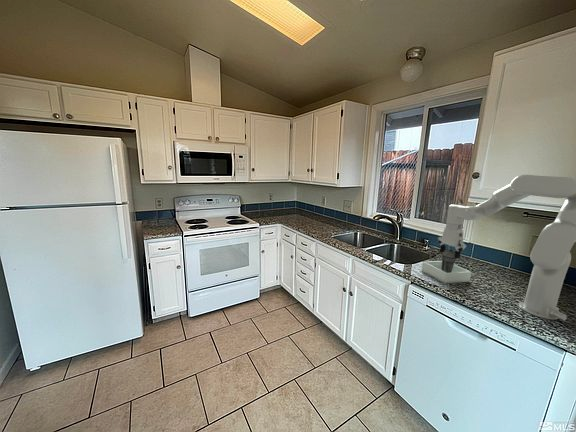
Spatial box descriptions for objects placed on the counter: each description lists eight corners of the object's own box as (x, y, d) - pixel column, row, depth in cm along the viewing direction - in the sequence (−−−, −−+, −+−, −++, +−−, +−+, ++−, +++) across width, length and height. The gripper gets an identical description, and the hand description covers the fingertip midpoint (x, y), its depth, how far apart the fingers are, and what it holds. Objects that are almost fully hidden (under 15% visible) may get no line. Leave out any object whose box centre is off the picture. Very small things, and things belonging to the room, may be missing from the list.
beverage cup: (455, 278, 135) (462, 244, 131) (441, 276, 136) (447, 243, 133) (449, 272, 142) (455, 241, 138) (436, 271, 143) (442, 240, 140)
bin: (469, 281, 133) (471, 271, 132) (445, 283, 129) (446, 273, 128) (443, 269, 149) (445, 260, 148) (421, 270, 146) (423, 261, 144)
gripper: (474, 229, 126) (468, 259, 129) (446, 223, 143) (442, 250, 145) (462, 229, 124) (457, 260, 127) (435, 223, 141) (432, 250, 144)
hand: (449, 254), depth 136 cm, fingers open, 9 cm apart
